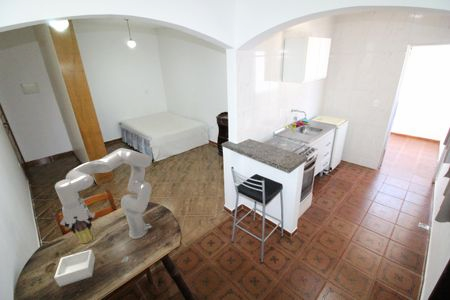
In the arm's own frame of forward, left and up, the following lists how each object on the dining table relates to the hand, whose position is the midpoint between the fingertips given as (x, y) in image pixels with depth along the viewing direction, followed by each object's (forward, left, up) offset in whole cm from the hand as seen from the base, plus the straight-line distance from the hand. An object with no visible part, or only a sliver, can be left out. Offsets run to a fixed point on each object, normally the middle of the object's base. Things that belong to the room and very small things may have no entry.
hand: (82, 229), depth 115 cm
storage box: (+11, -2, -32) cm, 34 cm away
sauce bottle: (0, 0, -9) cm, 9 cm away
